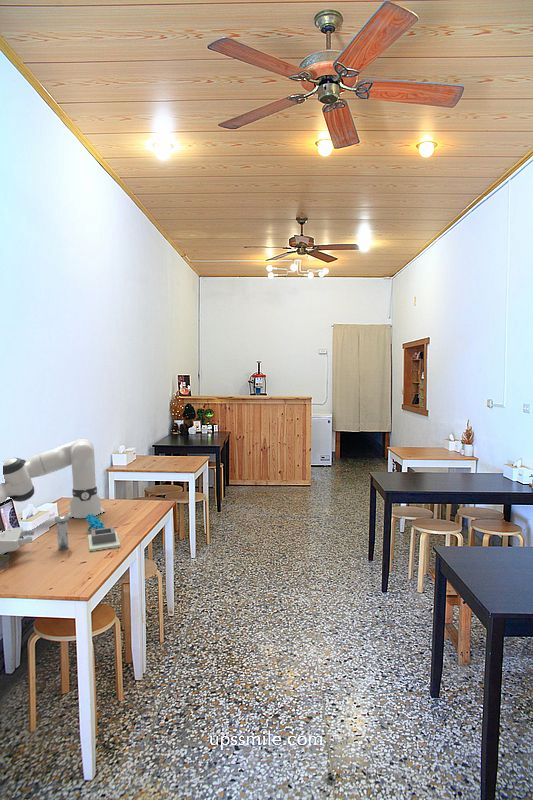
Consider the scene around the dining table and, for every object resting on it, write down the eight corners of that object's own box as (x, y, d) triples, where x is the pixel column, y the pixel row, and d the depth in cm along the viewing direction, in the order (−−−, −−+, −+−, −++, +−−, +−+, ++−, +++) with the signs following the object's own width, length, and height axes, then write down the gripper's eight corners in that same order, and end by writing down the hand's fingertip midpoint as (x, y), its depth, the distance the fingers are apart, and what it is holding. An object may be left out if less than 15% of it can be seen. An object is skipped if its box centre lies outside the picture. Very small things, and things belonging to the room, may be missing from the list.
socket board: (88, 537, 222) (87, 527, 222) (116, 533, 226) (115, 523, 226) (89, 552, 204) (88, 540, 203) (120, 547, 208) (119, 536, 208)
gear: (98, 530, 226) (84, 514, 228) (89, 539, 227) (75, 523, 229) (110, 526, 237) (96, 511, 239) (101, 535, 238) (88, 519, 240)
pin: (56, 547, 211) (54, 516, 210) (70, 545, 213) (69, 514, 212) (56, 551, 206) (54, 519, 205) (70, 549, 208) (68, 517, 207)
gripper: (-1, 541, 210) (35, 536, 215) (-9, 557, 191) (31, 551, 196) (-2, 526, 209) (34, 521, 214) (-10, 540, 190) (30, 535, 195)
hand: (33, 535), depth 205 cm, fingers open, 8 cm apart
